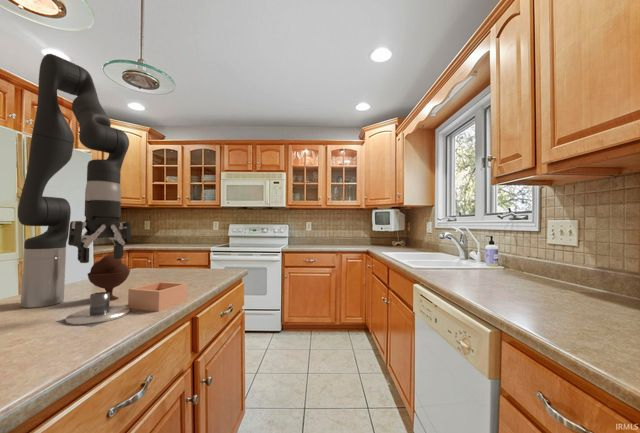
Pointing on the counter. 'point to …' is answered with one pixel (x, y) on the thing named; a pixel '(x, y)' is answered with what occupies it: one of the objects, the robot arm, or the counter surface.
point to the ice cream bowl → (108, 274)
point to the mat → (96, 323)
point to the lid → (98, 311)
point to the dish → (157, 296)
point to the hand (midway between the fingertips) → (101, 260)
